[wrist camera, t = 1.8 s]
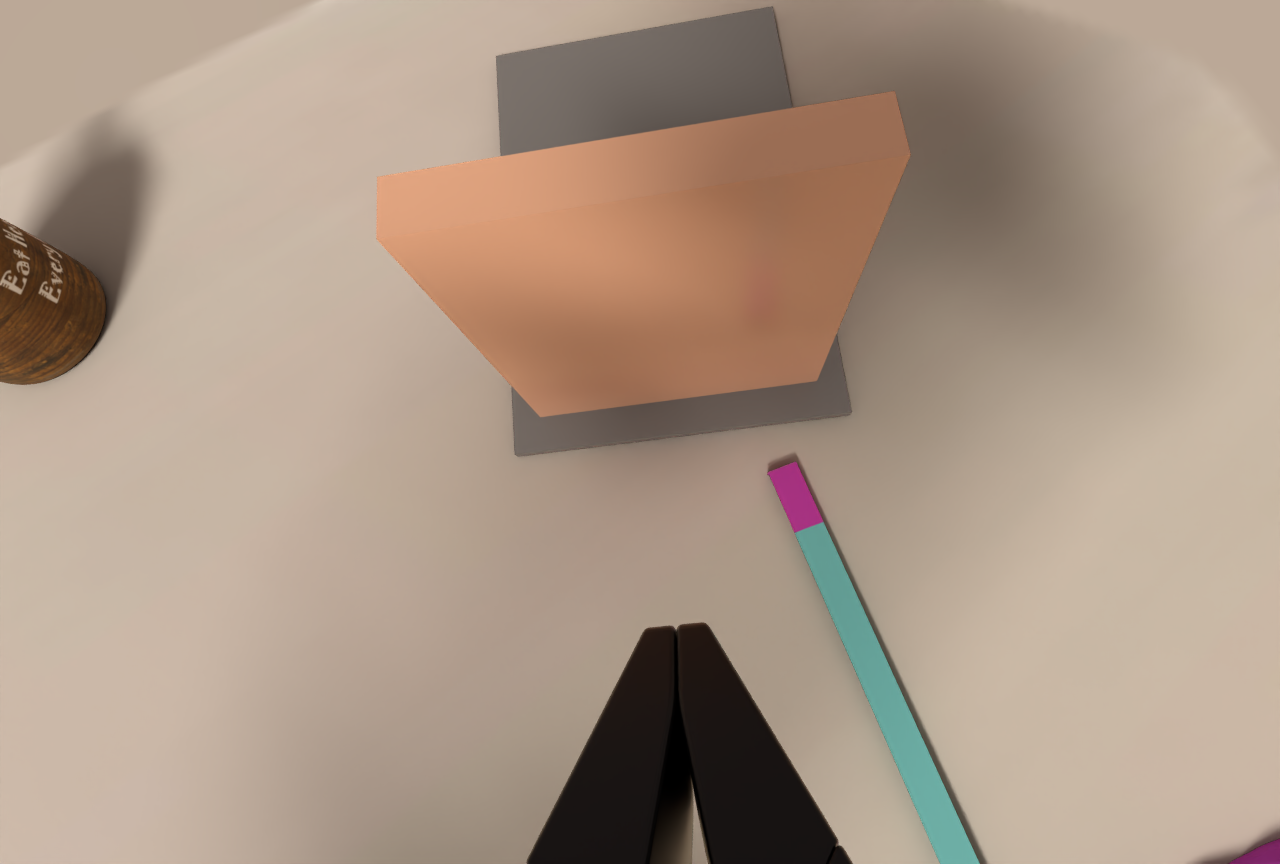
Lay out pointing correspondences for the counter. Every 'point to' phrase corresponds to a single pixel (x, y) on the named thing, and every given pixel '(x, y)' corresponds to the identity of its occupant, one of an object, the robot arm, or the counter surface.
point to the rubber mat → (636, 103)
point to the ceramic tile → (655, 252)
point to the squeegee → (892, 680)
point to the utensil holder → (44, 309)
